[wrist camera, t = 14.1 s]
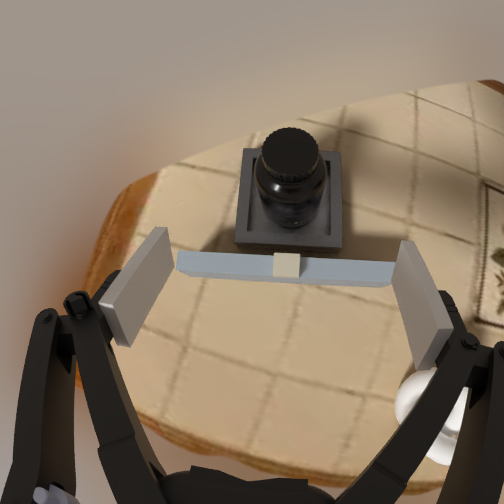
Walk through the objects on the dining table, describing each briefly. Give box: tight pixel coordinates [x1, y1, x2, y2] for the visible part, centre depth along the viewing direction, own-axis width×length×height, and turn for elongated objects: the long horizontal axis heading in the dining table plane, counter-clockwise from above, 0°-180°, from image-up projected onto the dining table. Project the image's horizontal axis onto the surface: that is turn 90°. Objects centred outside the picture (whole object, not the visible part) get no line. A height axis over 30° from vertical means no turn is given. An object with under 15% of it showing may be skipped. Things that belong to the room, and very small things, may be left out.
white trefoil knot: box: [394, 367, 468, 465], centre depth 25 cm, size 11×12×9 cm
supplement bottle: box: [254, 127, 327, 227], centre depth 30 cm, size 7×7×12 cm
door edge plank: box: [176, 250, 396, 287], centre depth 32 cm, size 22×2×6 cm, turn 86°
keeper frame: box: [234, 148, 342, 253], centre depth 35 cm, size 12×12×2 cm
